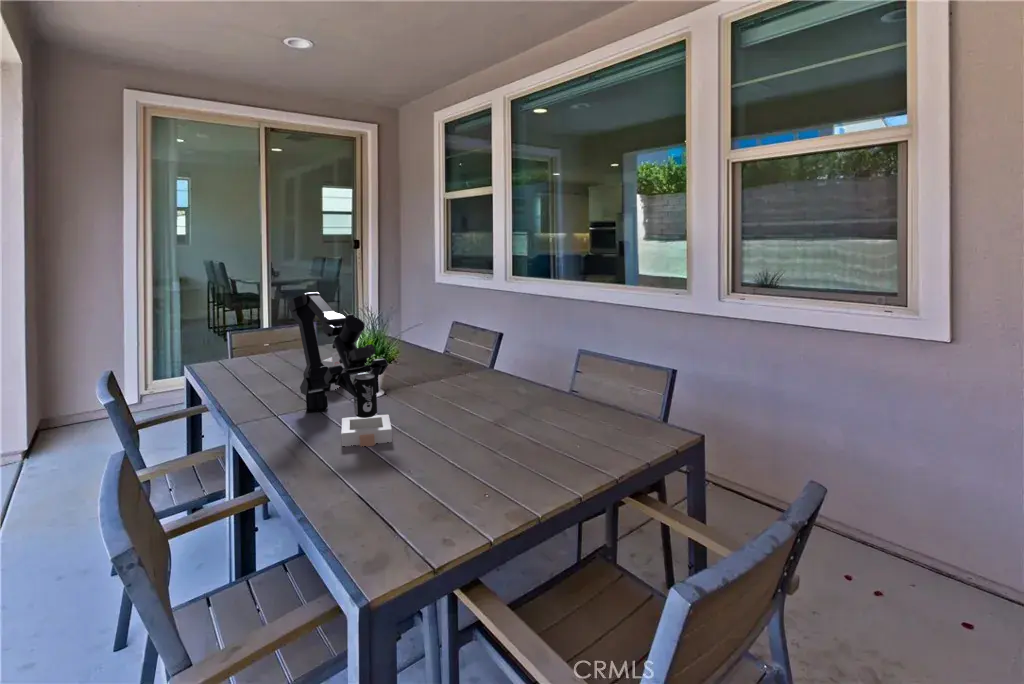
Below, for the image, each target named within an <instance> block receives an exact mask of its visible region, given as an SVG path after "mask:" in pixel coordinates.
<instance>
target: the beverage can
mask: <svg viewBox="0 0 1024 684" xmlns="http://www.w3.org/2000/svg"><path fill="white" fill-rule="evenodd" d="M374 377H375V376H374V375H373V374H368V373H358V374H355V375H354V379H353V380H352V383H353V385H354V388H355V390H356V392H357V395H358V396H357V397H356V398H355V397H354V396H353V410H354V411H353V413H354V415H355V417H360V418H369V417H373V416H375V415H377V413H378V400H377V399H378V398H377V397H378V396H377V395H378V393H377V391H376V379H375V378H374Z"/></svg>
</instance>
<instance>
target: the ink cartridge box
mask: <svg viewBox="0 0 1024 684" xmlns="http://www.w3.org/2000/svg"><path fill="white" fill-rule="evenodd" d="M339 360H340V357H339V354H338V352H337V351H334V352H333V353H331V357H328V358H326V359H322V360H321V362H322V364H323V365H324V366H327V367H328V368H329V367H333V366H339V365H340V366H342V367H343V368H344V366H343V363H341V364H340V362H339ZM339 387H340V386H338V385H335V383H334V384H331V388H330V391H336V390H338V389H340V388H341V387H340V388H339ZM337 388H338V389H337ZM335 389H336V390H335Z"/></svg>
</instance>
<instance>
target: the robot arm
mask: <svg viewBox="0 0 1024 684" xmlns="http://www.w3.org/2000/svg"><path fill="white" fill-rule="evenodd" d="M287 304H288V305H287V306H288V310H289V312H290V313H291V317H292V319H293V320H294V321H295V322H296V323H297V324H298V327H299V328H298V329H299V332H300V337H301V342H302V343H301V344H302V348H303V349H302V350H303V353H304V358H305V365H306V366H305V369H304V371H303V380H302V382H301V384H300V385H299V389H300V394H302V395H304V396H305V405H306V409H305V412H306V413H317V412H318V413H319V412H326V411H327V409H328V406H329V401H328V399H329V398H328V394H326V393H327V392H330V391H331V390H330V388H331V384H334V383H335V385H338V386H340V388H341V389H344V390H345V391H346V392H347V393H349V394H351V395H352V396H353V398H354V397H355V398H356V397H357V396H358V395H357V392H356V390H355V388H354V385H353V380H351V375H359V374H365V373H367V374H373V375H374V376H375V377H374V378H375V379H376V391H377V394H378V393H379V391H380V386H379V385H380V384H379V376H382V375H383V374H384V372H385V371H386V369H387V368H388V366H389V362H388V361H387V360H386V358H377V359H373V360H372V361H371V363H370V364H368V365H365V364H367V362H368V359H369V358H372V356H373V355H375V354H376V349H375V346H374V345H373V343H371V344H367V345H365V346H363V347H357V345H356V342H358V340H359V339H360V337H361V335H362V333H363V331H364V329H365V322H364V321H362V320H361V319H360V318H358V317H355V316H354V314H347V315H346V316H344V315H343V314H341V313H338V312H335V310H333V309H332V308H331V306H329V304H328V303H327V302H326V301H325V300H324V299H323V298H322V295H321V293H319V292H318V291H316V292H305V293H303V294H302V295H298V296H296V297H292V298H291V300H290V301H288V303H287ZM315 317H317V318H318V319H319V320H320V322H321V323H322V325H321V329H322V330H323V333H324V334H325V336H327V337H328V338H331V337H335V338H334V339H333V341H332V342H333V343H332V345H331V346H332V347H331V348H332V350H333V349H334V350H336V352H338V354H337V355H338V356H339V357H340V360H339V362H340V364H341V363H343V366H344V368H343V367H342V366H340V365H339V366H333V367H329V368H328V367H327V366H324V365H323V364H322V360H321V359H322V358H321V355H320V350H319V343H318V338H317V335H316V333H317V332H316V329H315V324H314V320H315Z"/></svg>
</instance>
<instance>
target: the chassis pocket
mask: <svg viewBox="0 0 1024 684" xmlns="http://www.w3.org/2000/svg"><path fill="white" fill-rule="evenodd" d="M340 432H341V433H340V435H341V447H342V446H345V447H354V446H353V445H356V446H359V447H360V448H364V446H366V447H375V445H377V444H376V443H378V444H386V443H387V442H389V443H393V435H392V434H393V433H392V432H393V431H392V424H391V419H390V415H389V414H378V415H377V414H375V416H373V417H369V418H360V417H357V416H352V417H342V418H341V431H340ZM351 445H352V446H351ZM362 446H363V447H362Z"/></svg>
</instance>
